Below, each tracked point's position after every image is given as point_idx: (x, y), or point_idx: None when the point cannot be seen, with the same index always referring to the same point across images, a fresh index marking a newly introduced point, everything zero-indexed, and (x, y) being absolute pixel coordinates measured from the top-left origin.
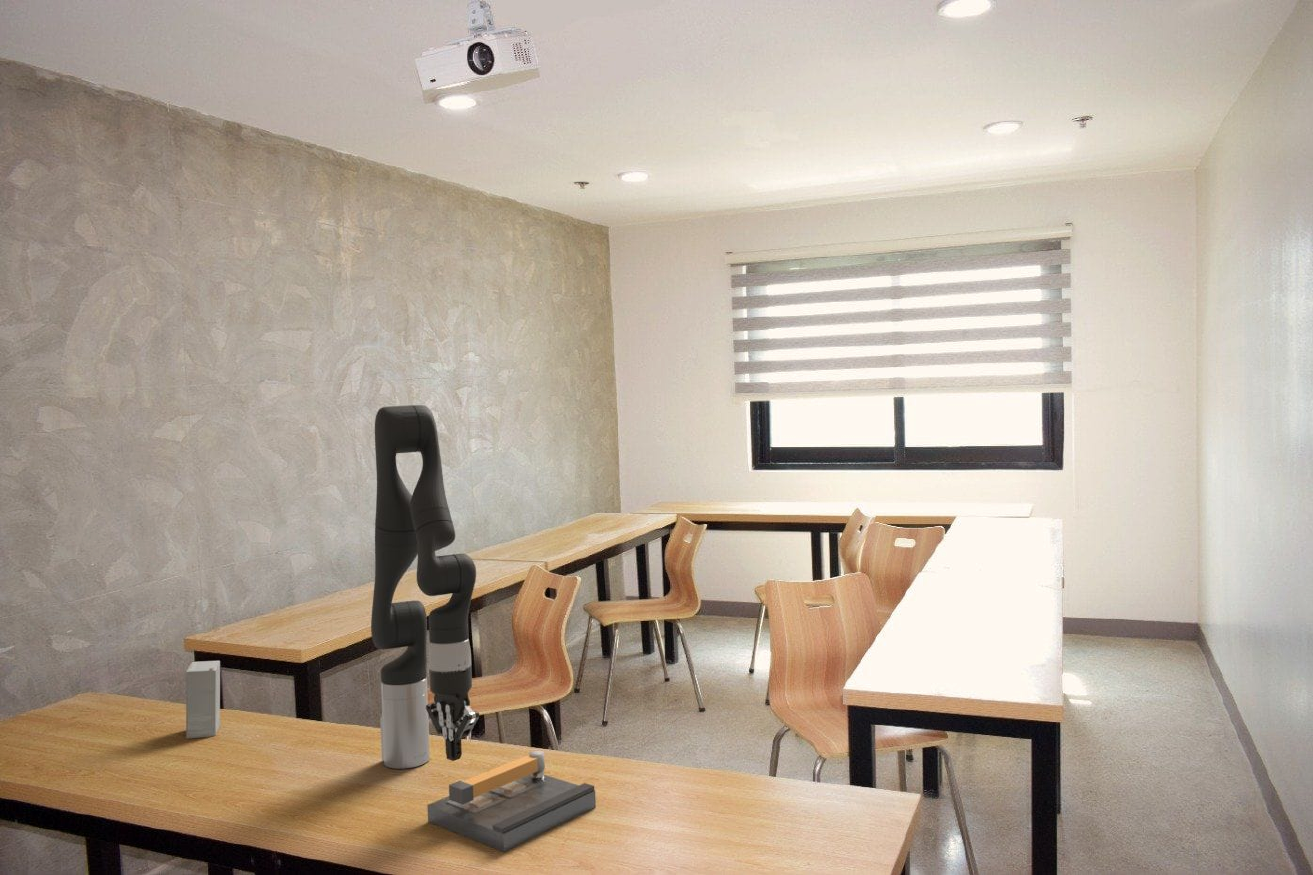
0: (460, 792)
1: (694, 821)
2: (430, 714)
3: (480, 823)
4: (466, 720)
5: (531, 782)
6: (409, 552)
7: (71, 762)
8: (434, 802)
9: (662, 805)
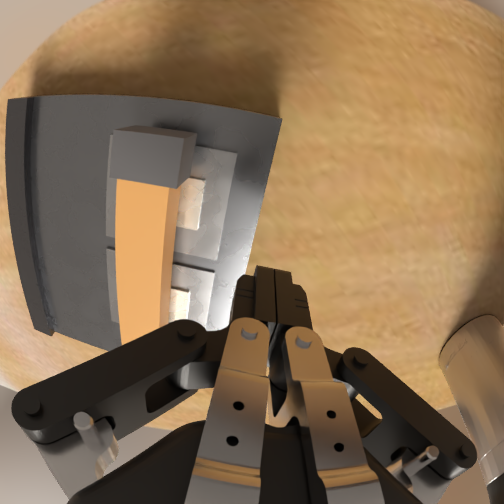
0: (127, 129)
1: None
2: (439, 427)
3: (70, 102)
4: (41, 394)
5: None
6: None
7: None
8: (273, 141)
9: (13, 328)
